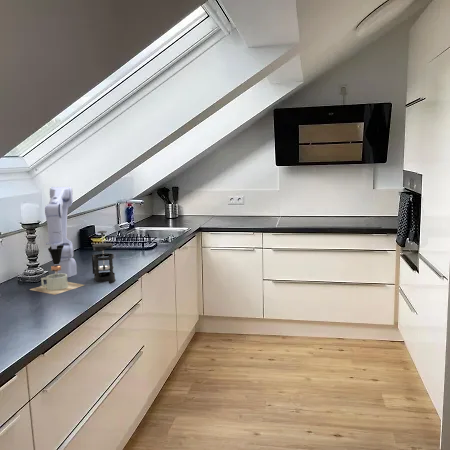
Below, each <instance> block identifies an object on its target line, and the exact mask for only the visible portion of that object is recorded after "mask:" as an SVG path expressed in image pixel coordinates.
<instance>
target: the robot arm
mask: <svg viewBox="0 0 450 450" xmlns="http://www.w3.org/2000/svg"><path fill="white" fill-rule="evenodd" d="M73 194H74V193H73V188H72V186H70V185H69V186H50V188H49V198H50V199H49V202H48V204H47V205H45V206H44V215H45V218H46V219H45V220H46V223H47V224H46V225H47V237H48V238H47V239H48V241H47V242H45V245H49V247H48V249H47V250H48V252H49V257H50V259H51V260H52V263H53V266H54V265H61V270H59V271H58V273H63V274H67V279H68V278H70V277H73V276H77V275H78V272H77V271H78V269H77V268H78V267H77V262H76V260H75V258H74V245H73V241H71V240H70V239H68V212H69V207H71V206H72V205H73Z"/></svg>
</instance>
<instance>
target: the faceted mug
mask: <svg viewBox="0 0 450 450" xmlns="http://www.w3.org/2000/svg"><path fill="white" fill-rule="evenodd" d="M54 276H55V273H52V274H48V275H46V276H45V277H41V278H40V280H41V282H40V283H41V286H42V287H46V286H47V289H48V290H61V289H65V288H67V287H68V283H67V282H68V278H67V274H63V273H58V276H63V277H60V278H51V277H54ZM44 280H45V281H46V284H45V283H44Z"/></svg>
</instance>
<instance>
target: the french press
mask: <svg viewBox="0 0 450 450" xmlns="http://www.w3.org/2000/svg"><path fill="white" fill-rule="evenodd" d="M104 233H107V230H100V231H97V234H100V236H101V242H100V243H94V244H92V247H93V251H95V252H102V253H99V254H98V253H97V254H92V255H91V266H92V268H91V269H92V274H93V277H94V282H97V283H106V282H108V284H112V283H115V282H116V273H115V272H114V266H113V265H114V264H113V259H114V258H115V256H114V254H113V253H107V252H106V253H104V251H105V250H106V249H113V246H114V243H112V242H111V243H110V242H104ZM99 261H101V262H103V265H100V266H99ZM105 261H108V264H109V265H105Z"/></svg>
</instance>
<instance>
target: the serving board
mask: <svg viewBox="0 0 450 450" xmlns="http://www.w3.org/2000/svg"><path fill="white" fill-rule="evenodd" d="M67 283H68V287H67V288H65V289H61V290H48V289H47V286H46V287H42V285H40V286H38V287H33V288H30V289H29V291H34V292H40V293H43V294H44V293H45V294H48V295H55V296H56V295H58V294H62V293H65V292H68V291H71V290H75V289H77V288H80V287H83V286H85V284H82V283H76V282H71V281H67Z"/></svg>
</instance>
